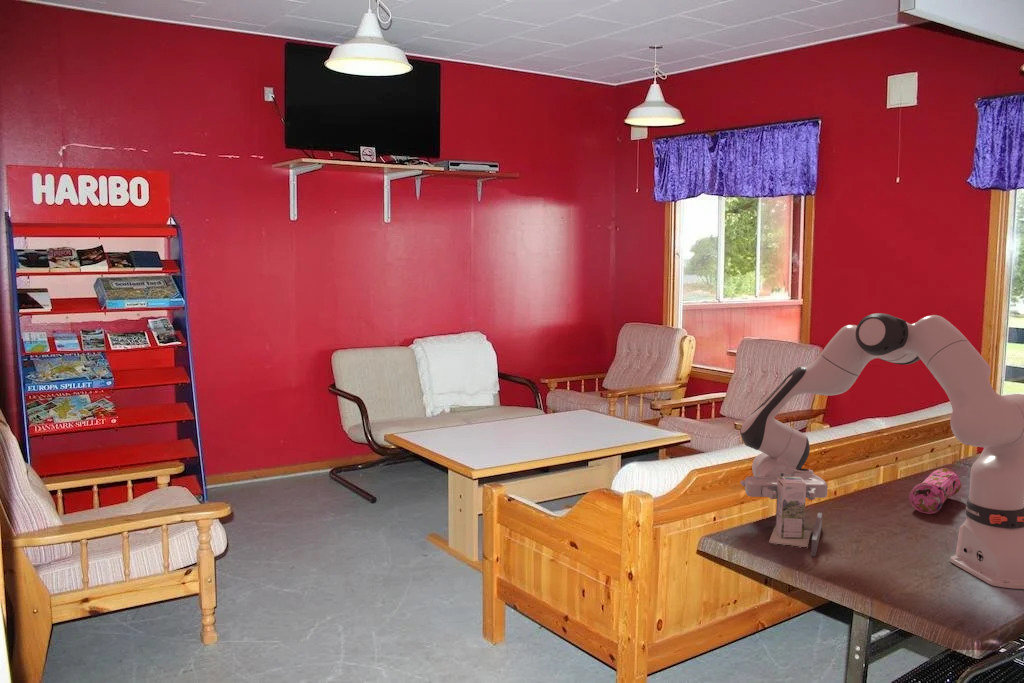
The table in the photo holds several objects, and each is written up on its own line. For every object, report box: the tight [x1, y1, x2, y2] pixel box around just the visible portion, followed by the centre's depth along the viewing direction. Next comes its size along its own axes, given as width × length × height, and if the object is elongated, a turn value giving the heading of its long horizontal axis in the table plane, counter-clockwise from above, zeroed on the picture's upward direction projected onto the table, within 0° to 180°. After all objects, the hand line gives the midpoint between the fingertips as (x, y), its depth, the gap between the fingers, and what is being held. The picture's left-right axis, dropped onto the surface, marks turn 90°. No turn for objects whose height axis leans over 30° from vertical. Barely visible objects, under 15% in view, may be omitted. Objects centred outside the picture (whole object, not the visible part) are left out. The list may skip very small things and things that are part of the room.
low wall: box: [810, 512, 823, 557], centre depth 214 cm, size 1×22×4 cm, turn 157°
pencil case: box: [908, 467, 962, 515], centre depth 243 cm, size 21×9×9 cm, turn 141°
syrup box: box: [775, 477, 807, 539], centre depth 216 cm, size 6×6×14 cm
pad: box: [768, 525, 812, 549], centre depth 217 cm, size 9×12×1 cm
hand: (792, 496), depth 215 cm, fingers open, 8 cm apart
